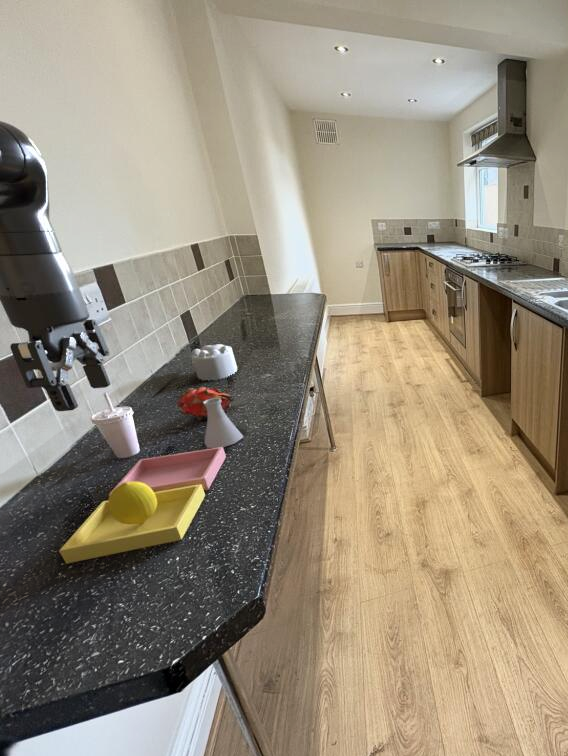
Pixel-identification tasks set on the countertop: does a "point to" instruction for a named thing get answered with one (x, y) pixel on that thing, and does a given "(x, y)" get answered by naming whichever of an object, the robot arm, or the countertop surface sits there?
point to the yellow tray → (135, 526)
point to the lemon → (132, 503)
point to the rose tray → (177, 470)
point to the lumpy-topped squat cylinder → (214, 362)
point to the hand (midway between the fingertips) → (85, 397)
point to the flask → (219, 426)
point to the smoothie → (117, 429)
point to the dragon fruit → (201, 401)
